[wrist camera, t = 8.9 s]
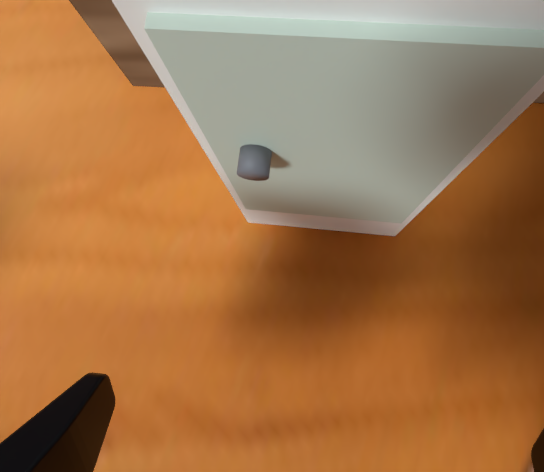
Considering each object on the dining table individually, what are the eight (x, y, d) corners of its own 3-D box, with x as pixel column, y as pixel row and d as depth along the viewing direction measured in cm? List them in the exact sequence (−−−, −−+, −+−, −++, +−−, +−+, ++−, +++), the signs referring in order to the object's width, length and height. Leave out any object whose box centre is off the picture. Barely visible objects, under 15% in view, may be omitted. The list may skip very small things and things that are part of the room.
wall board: (551, 132, 17) (749, -22, 10) (128, 112, 19) (4, -32, 11) (549, 70, 18) (736, -124, 10) (138, 56, 20) (25, -118, 12)
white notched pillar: (393, 256, 17) (646, 63, 4) (245, 241, 18) (83, 35, 5) (403, 108, 18) (623, -388, 5) (264, 98, 19) (170, -366, 6)
